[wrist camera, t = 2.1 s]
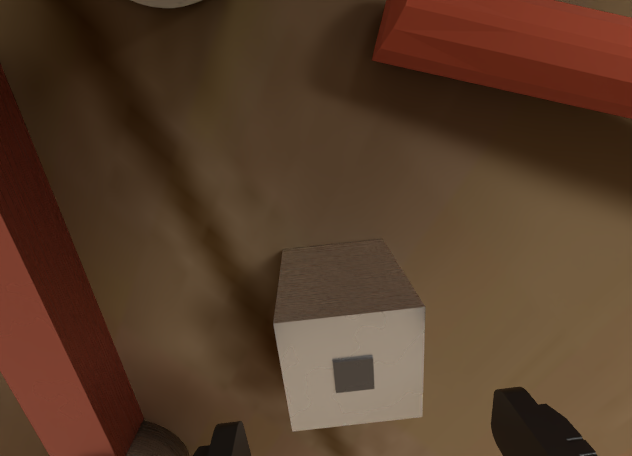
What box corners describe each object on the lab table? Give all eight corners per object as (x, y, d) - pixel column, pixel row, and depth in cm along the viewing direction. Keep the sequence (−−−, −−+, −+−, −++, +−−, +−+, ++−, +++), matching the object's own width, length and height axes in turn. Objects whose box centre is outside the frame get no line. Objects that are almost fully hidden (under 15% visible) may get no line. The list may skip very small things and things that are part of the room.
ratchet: (-137, 61, 12) (-561, 16, 6) (44, 43, 12) (-202, -20, 6) (98, 497, 22) (21, 647, 16) (200, 485, 22) (162, 631, 16)
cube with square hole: (282, 249, 16) (272, 325, 10) (382, 238, 16) (426, 308, 10) (294, 331, 18) (292, 434, 12) (384, 321, 18) (423, 419, 12)
